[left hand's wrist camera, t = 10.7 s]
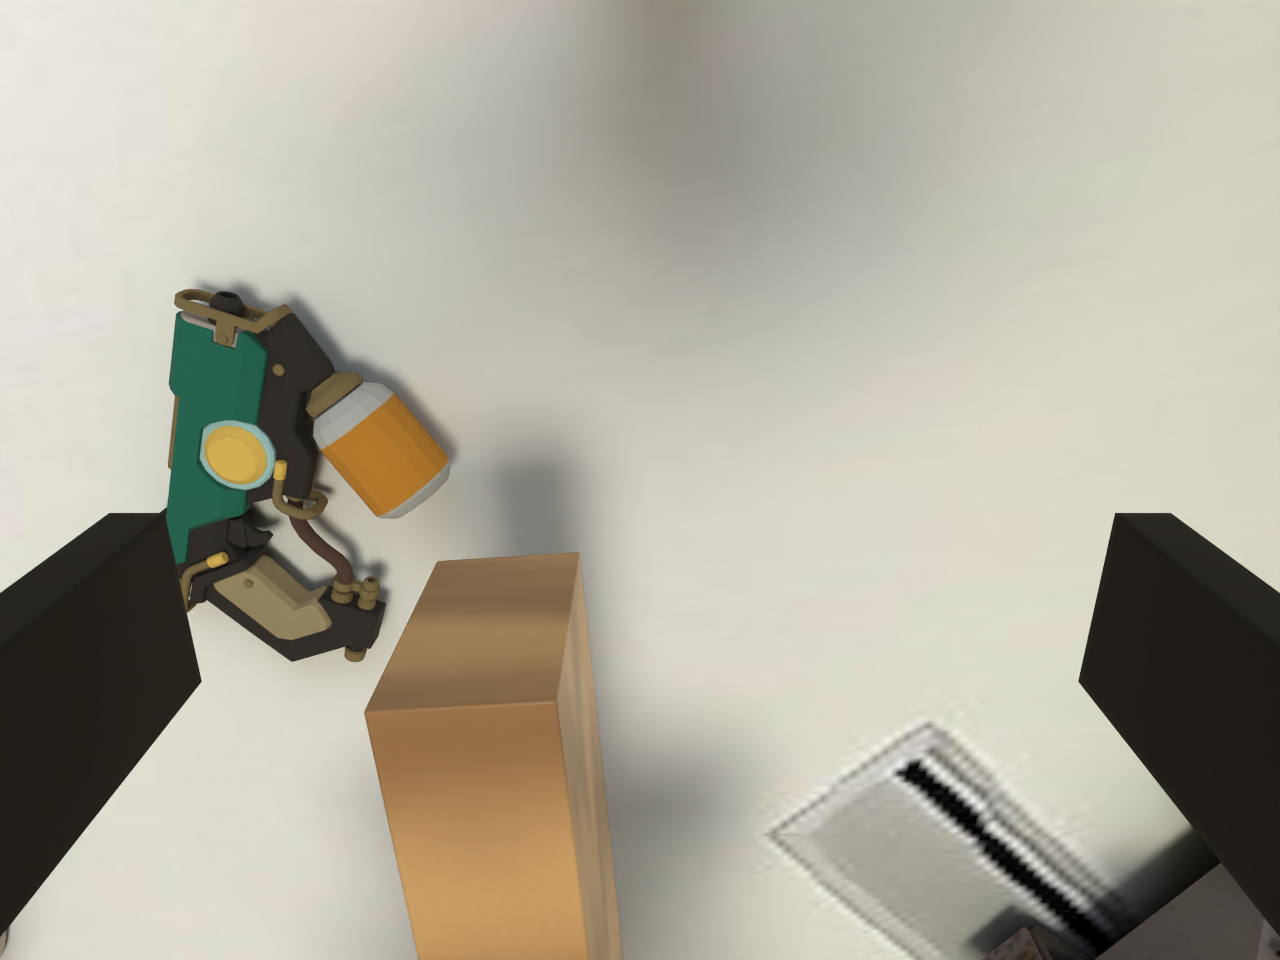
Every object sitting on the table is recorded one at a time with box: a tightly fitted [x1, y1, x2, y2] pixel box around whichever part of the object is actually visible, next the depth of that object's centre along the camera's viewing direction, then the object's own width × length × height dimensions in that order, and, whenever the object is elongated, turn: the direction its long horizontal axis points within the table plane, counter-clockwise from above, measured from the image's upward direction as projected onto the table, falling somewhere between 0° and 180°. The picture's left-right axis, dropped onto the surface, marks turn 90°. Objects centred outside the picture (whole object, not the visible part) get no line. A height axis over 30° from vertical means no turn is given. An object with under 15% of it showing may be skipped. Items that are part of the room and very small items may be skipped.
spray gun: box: [160, 289, 450, 662], centre depth 42 cm, size 4×17×15 cm
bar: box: [364, 552, 623, 960], centre depth 32 cm, size 24×5×9 cm, turn 4°
